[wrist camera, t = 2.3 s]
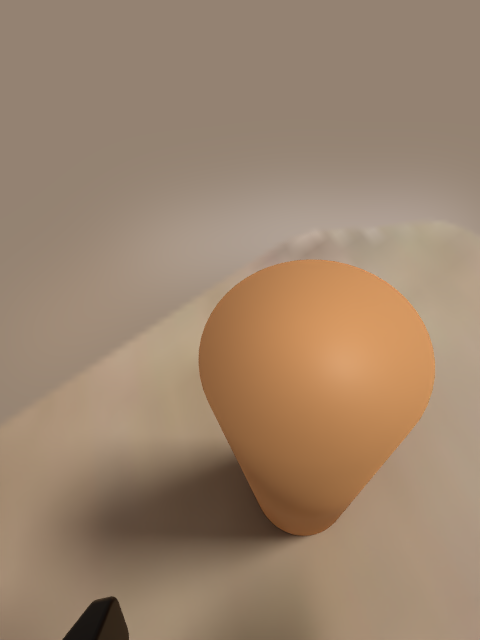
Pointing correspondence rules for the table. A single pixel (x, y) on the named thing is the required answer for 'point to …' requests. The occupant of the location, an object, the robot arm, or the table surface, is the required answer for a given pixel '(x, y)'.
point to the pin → (314, 384)
